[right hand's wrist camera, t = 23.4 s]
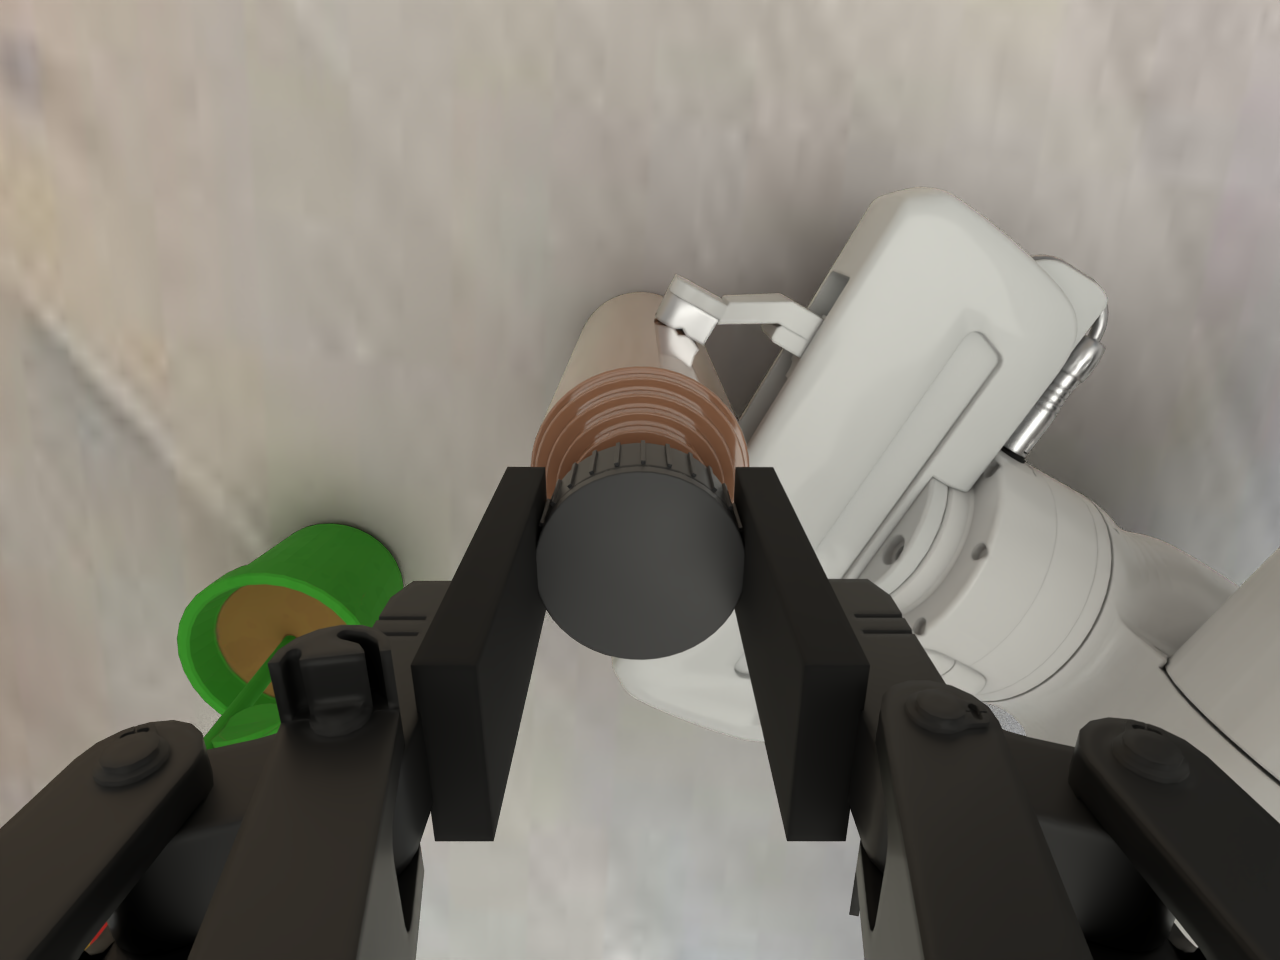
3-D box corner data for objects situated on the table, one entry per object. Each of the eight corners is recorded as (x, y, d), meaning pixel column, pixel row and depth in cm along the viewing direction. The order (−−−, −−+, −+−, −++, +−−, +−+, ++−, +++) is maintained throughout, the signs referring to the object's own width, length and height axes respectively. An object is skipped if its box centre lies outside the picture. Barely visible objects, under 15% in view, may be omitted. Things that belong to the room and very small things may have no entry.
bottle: (551, 359, 31) (442, 560, 14) (636, 264, 30) (631, 355, 12) (643, 440, 32) (648, 714, 15) (728, 352, 31) (839, 545, 14)
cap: (502, 536, 15) (485, 575, 13) (635, 397, 14) (635, 422, 12) (644, 649, 16) (644, 698, 14) (779, 527, 15) (795, 566, 13)
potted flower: (386, 479, 33) (-229, 1161, 10) (458, 618, 36) (114, 1414, 12) (206, 541, 34) (-730, 1284, 11) (290, 671, 37) (-317, 1490, 13)
